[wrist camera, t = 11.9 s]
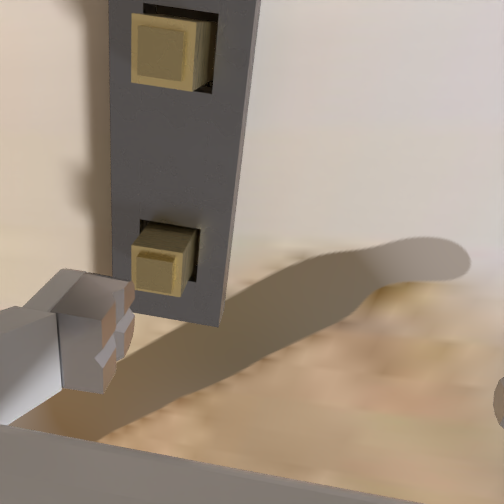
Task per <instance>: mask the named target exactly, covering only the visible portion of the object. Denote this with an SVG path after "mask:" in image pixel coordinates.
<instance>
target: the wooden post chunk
mask: <svg viewBox="0 0 504 504" xmlns="http://www.w3.org/2000/svg"><path fill="white" fill-rule="evenodd" d="M200 233H201V229H197V228H191V227H185V226H179V225H172V224H166V223H160V222H154V221H150V222H149V224H148V225H147V226H146V227H145V229H144V230H143V231H142V232H141V234H140V235H139V236H138V237H137V239H136V240H135V241H134V242H133V244H132V245H131V281H133V283H134V285H135V290H138V291H144V292H151V293H157V294H163V295H169V296H175V297H181V295H182V293H183V291H184V289H185V287H186V284H187V282H188V280H189V278H190V276H191V274H192V272H193V270H194V267H195V265H196V263H197V261H198V257H199V245H200Z"/></svg>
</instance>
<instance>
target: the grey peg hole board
mask: <svg viewBox="0 0 504 504" xmlns="http://www.w3.org/2000/svg"><path fill="white" fill-rule="evenodd" d="M260 3H261V0H109V63H110V132H111V201H112V270H113V277H116V278H121V279H126V280H131V245H132V244H133V242H134V241H135V240H136V239H137V237H138V236H139V235H140V234H141V232H142V231H143V230H144V229H145V227H146V226H147V225H148V224H149V222H150V221H154V222H160V223H166V224H172V225H179V226H185V227H191V228H197V229H201V233H200V245H199V257H198V265H195V267H194V270H193V272H192V274H191V276H190V278H189V280H188V282H187V284H186V287H185V289H184V291H183V293H182V295H181V297H175V296H169V295H163V294H157V293H151V292H144V291H138V290H135V299H134V301H133V302H132V304H131V306H130V307H129V308H130V309H131V311H132V312H134V313H139V314H145V315H151V316H157V317H162V318H168V319H174V320H179V321H185V322H191V323H197V324H202V325H208V326H214V327H219V324H220V320H221V317H222V314H223V311H224V303H225V296H226V287H227V279H228V271H229V262H230V254H231V246H232V237H233V229H234V221H235V212H236V204H237V196H238V187H239V179H240V171H241V162H242V154H243V145H244V137H245V129H246V120H247V112H248V104H249V95H250V87H251V79H252V70H253V62H254V54H255V45H256V37H257V28H258V20H259V12H260ZM156 5H162V6H169V7H176V8H183V9H190V10H197V11H204V12H211V13H218V14H219V17H218V29H217V41H216V53H215V65H214V77H213V88H212V87H205V86H201V87H199V88H197V89H196V90H194V91H192V92H191V91H184V90H177V89H171V88H164V87H158V86H151V85H144V84H138V83H131V24H132V13H142V14H156Z"/></svg>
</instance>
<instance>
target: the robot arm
mask: <svg viewBox="0 0 504 504" xmlns="http://www.w3.org/2000/svg"><path fill="white" fill-rule="evenodd" d="M134 299H135V285H134V283H133V281H131V280H126V279H121V278H116V277H110V276H105V275H100V274H95V273H90V272H88V273H87V272H85V271H79V270H73V269H67V268H66V269H61V270H60V271H59V272H58V273H57V274H55V275H54V276H53V277H52V278H51V279H50V280H49V281H48V282H47V283H46V284H45V285H44V286H43V287H42V288H41V289H40V290H39V291H38V292H37V293H36V294H35V295H34V296H33V297H32V298H31V299H30V300H29V301H28V302H27V303H26V304H25V305H24V306H23V307H18V306H14V307H11V308H8V309H5V310H2V311H0V504H423V503H418V502H413V501H407V500H402V499H396V498H391V497H386V496H380V495H375V494H370V493H364V492H359V491H354V490H348V489H343V488H337V487H332V486H327V485H321V484H316V483H311V482H305V481H300V480H295V479H289V478H284V477H278V476H273V475H268V474H262V473H257V472H252V471H246V470H241V469H236V468H230V467H225V466H220V465H214V464H209V463H204V462H198V461H193V460H188V459H183V458H177V457H172V456H167V455H161V454H156V453H151V452H145V451H140V450H135V449H129V448H124V447H119V446H114V445H108V444H103V443H98V442H92V441H87V440H82V439H76V438H71V437H66V436H60V435H55V434H50V433H44V432H39V431H34V430H28V429H23V428H18V427H12V426H7V425H8V424H10V423H12V422H13V421H15V420H16V419H18V418H19V417H21V416H22V415H24V414H25V413H27V412H28V411H30V410H31V409H33V408H35V407H36V406H38V405H39V404H41V403H43V402H44V401H46V400H47V399H49V398H50V397H52V396H53V395H55V394H56V393H58V392H59V391H61V390H62V388H67V389H73V390H80V391H87V392H93V393H99V394H104V392H105V390H106V389H107V387H108V385H109V383H110V382H111V380H112V378H113V376H114V375H115V373H116V361H118V360H120V359H122V358H124V357H125V355H126V353H127V351H128V349H129V346H130V343H131V340H132V337H133V331H134V323H135V315H134V314H133V312H132V311H131V309H130V308H129V307H130V306H131V304H132V302H133V301H134ZM493 407H494V412H495V416H496V418H497V420H498V423H499V425H500V426H502V427H503V428H504V377H503V378H501V379H500V380H499V382H498V385H497V387H496V389H495V391H494V401H493Z"/></svg>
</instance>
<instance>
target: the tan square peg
mask: <svg viewBox="0 0 504 504" xmlns="http://www.w3.org/2000/svg"><path fill="white" fill-rule="evenodd" d="M216 33H217V22H213V21H206V20H199V19H192V18H185V17H178V16H171V15H164V14H142V13H132V24H131V83H138V84H144V85H151V86H158V87H164V88H171V89H177V90H184V91H191V92H192V91H194V90H196V89H197V88H199V87H201V86H202V85H204V84H206V83H207V82H209V81H211V80H212V79H213V69H214V57H215V45H216Z"/></svg>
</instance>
